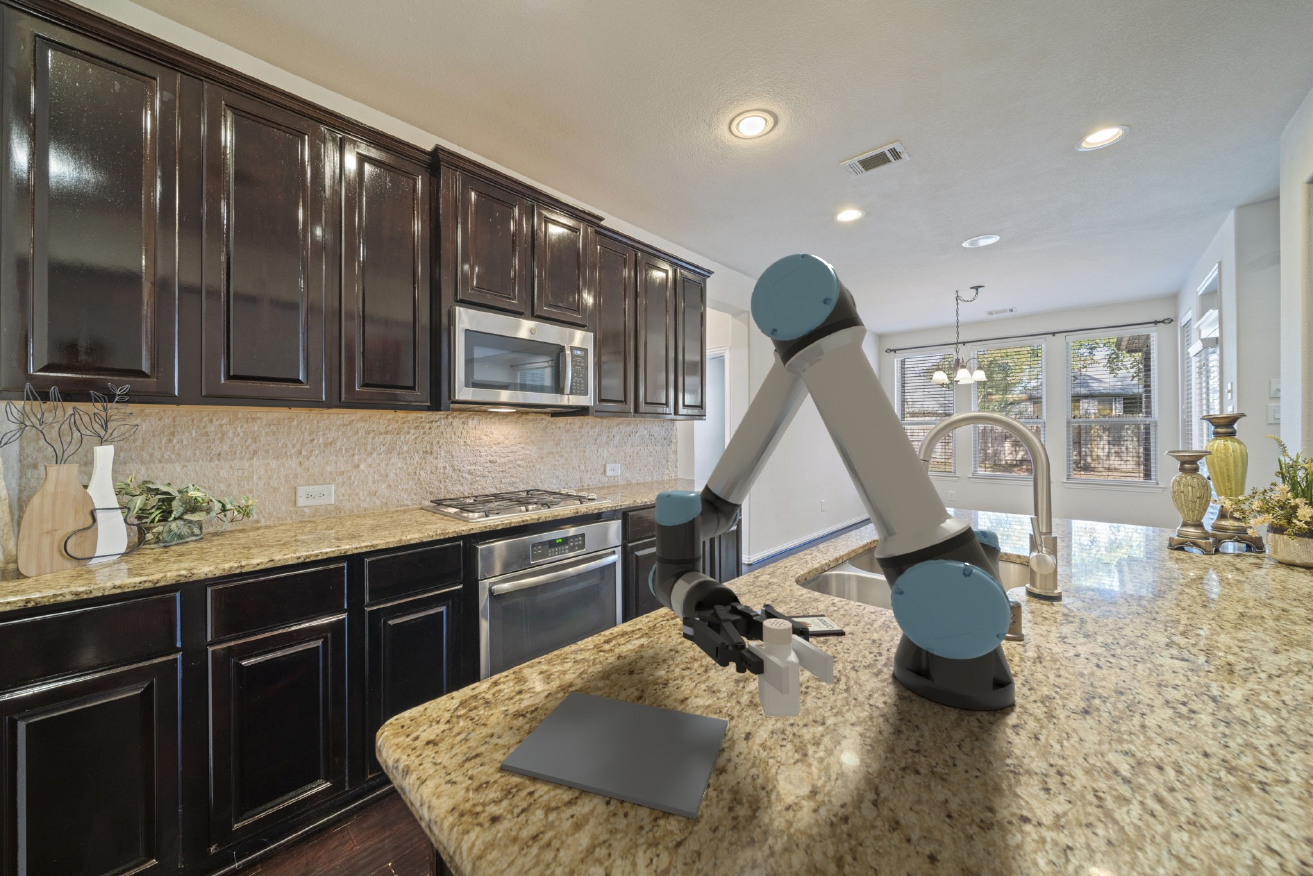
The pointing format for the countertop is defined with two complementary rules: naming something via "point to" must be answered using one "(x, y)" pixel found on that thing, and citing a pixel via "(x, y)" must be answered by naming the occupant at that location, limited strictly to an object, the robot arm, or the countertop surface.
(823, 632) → the chocolate bar
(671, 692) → the countertop surface
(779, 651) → the salt shaker
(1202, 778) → the countertop surface
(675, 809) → the rubber mat
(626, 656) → the countertop surface
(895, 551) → the robot arm
